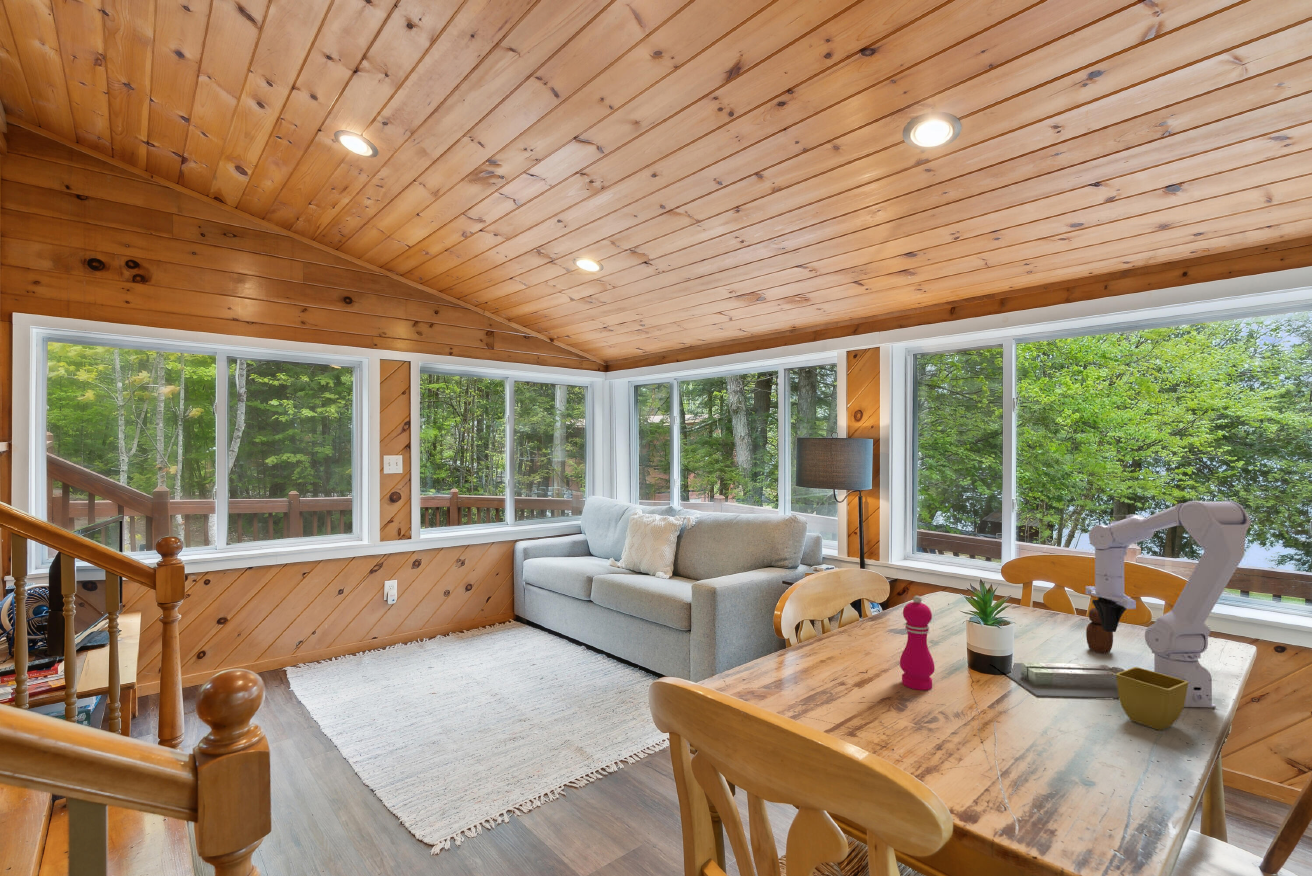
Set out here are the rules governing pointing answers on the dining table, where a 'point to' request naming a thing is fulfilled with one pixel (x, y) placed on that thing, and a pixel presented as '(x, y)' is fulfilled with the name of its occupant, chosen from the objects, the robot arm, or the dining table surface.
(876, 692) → the dining table surface
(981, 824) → the dining table surface
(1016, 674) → the mat
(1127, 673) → the flower pot
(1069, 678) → the fixed arm
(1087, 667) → the hinged arm
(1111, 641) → the wooden figurine
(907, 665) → the pepper mill
